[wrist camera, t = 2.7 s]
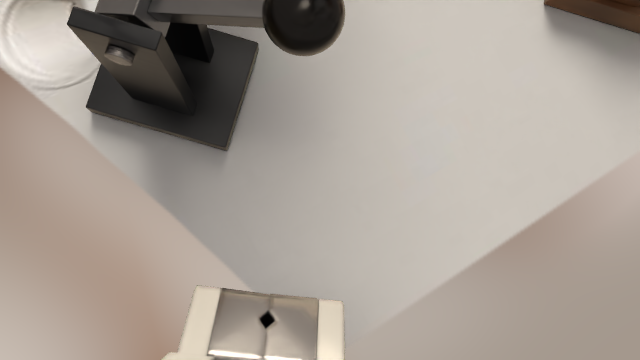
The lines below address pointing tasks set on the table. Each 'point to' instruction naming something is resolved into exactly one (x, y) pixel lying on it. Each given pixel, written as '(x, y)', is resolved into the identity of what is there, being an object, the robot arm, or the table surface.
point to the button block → (604, 11)
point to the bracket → (167, 76)
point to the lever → (242, 18)
